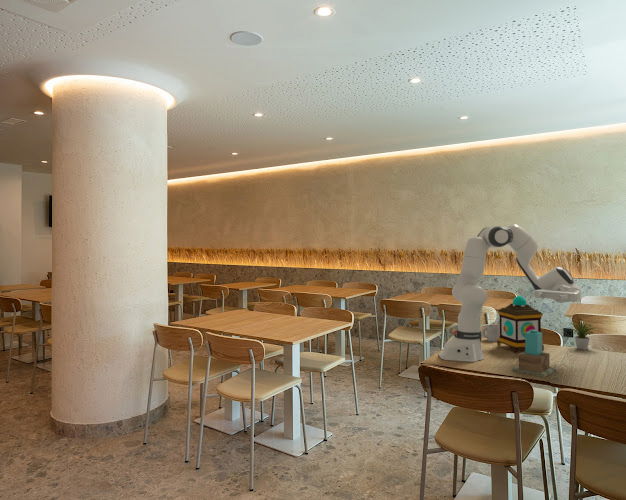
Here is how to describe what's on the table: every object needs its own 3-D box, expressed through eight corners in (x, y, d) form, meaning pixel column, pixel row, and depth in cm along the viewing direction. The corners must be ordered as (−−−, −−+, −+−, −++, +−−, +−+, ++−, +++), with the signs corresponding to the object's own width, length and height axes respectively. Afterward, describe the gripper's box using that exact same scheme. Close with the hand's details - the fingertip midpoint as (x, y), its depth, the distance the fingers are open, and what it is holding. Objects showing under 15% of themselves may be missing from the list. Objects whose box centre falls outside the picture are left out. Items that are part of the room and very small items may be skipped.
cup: (499, 342, 267) (499, 327, 266) (482, 341, 270) (481, 326, 270) (499, 339, 273) (499, 325, 273) (481, 338, 277) (481, 324, 276)
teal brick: (537, 355, 206) (537, 332, 205) (525, 353, 210) (525, 330, 209) (542, 353, 209) (542, 330, 209) (530, 351, 213) (530, 328, 213)
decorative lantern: (493, 345, 258) (492, 294, 257) (523, 343, 262) (523, 292, 261) (515, 354, 238) (515, 298, 238) (548, 352, 242) (547, 297, 242)
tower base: (543, 377, 200) (543, 359, 200) (512, 370, 210) (512, 353, 210) (555, 370, 209) (555, 353, 209) (525, 364, 219) (525, 348, 219)
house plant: (584, 353, 238) (584, 322, 238) (561, 347, 251) (561, 318, 250) (602, 350, 244) (602, 320, 243) (578, 344, 256) (578, 316, 256)
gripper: (539, 286, 232) (528, 288, 223) (583, 288, 217) (573, 291, 208) (539, 298, 232) (528, 301, 223) (583, 301, 217) (573, 305, 208)
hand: (550, 296), depth 215 cm, fingers open, 8 cm apart
